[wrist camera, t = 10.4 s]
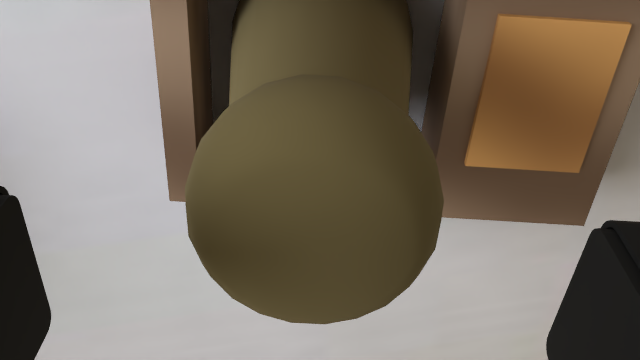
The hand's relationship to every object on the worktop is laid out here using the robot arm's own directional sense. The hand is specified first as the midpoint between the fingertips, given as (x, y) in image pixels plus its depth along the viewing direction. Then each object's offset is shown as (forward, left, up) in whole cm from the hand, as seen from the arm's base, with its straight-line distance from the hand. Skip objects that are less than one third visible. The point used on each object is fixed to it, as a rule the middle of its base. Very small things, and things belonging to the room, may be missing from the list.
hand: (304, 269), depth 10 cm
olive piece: (0, 0, -12) cm, 12 cm away
